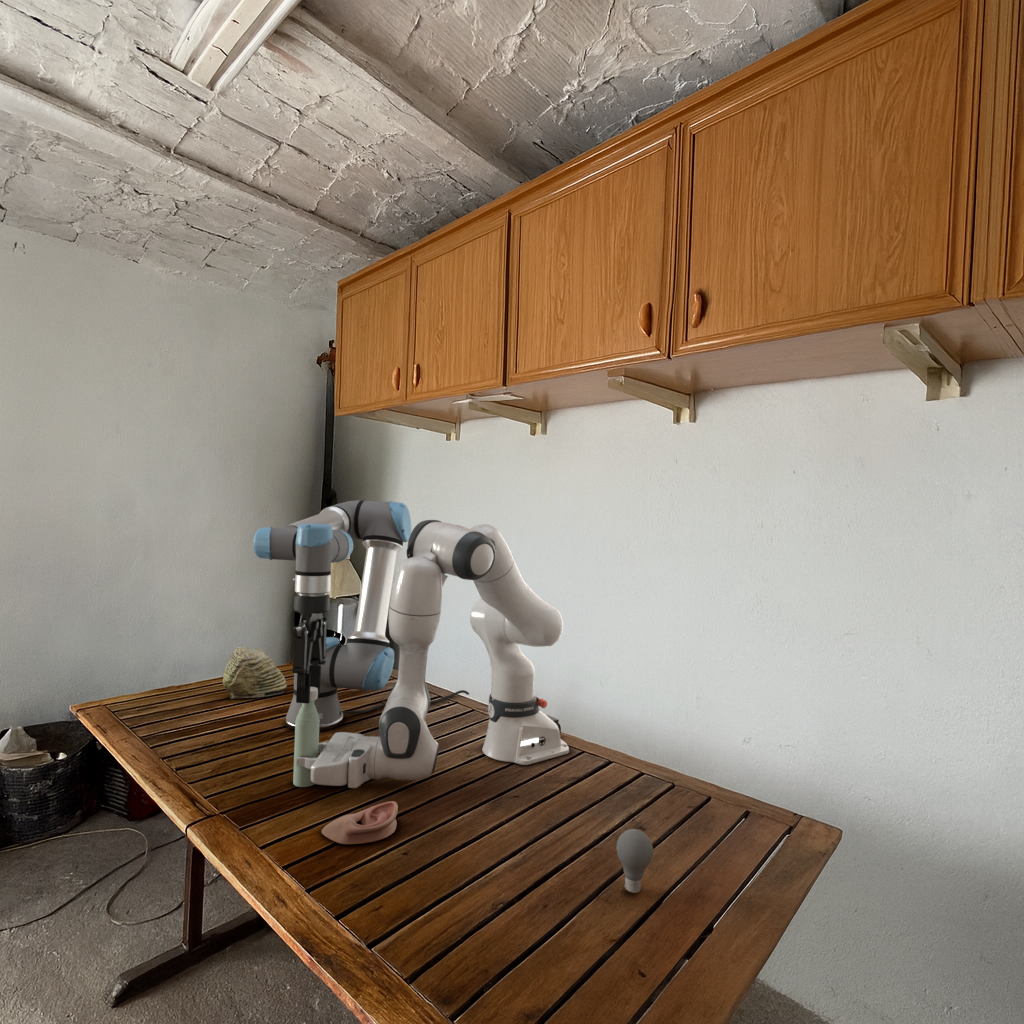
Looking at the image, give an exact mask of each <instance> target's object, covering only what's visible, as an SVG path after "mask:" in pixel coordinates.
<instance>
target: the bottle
mask: <svg viewBox="0 0 1024 1024" xmlns="http://www.w3.org/2000/svg"><path fill="white" fill-rule="evenodd" d="M315 707H316V706H315V705H314V700H313V701H310V703H302V706H301V709H300V710H299V713H298V716H297V717H296V721H295V730H294V748H293V749H294V750H293V752H294V753H293V755H294V756H293V775H292V776H293V777H292V784H293V785H294V786H295V787H298V788H309V787H312V786H314V785H316V784H315V783H313V782H311V770H310V769H308V768H306V767H300V766H297V765H296V764H297V759H298V757H299V756H307V758H312V759H313V758H318V756H319V753H318V748H319V743H320V731H319V722H320V719H319V715H318V712H317V709H316V708H315Z"/></svg>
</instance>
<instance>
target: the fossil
mask: <svg viewBox="0 0 1024 1024" xmlns="http://www.w3.org/2000/svg"><path fill="white" fill-rule="evenodd" d="M222 676H223V677H222V685H223V687H224V688H225V690H226V691H228V693H229V698H230V699H250V698H264V697H271V696H275V695H281V694H284V693H285V691H286V689H287V687H288V686H287V680H286V678H285V676H284V674H283V673H282V672H281V669H279V668H278V667H277V665H276V663H275V662H274V660H273V659H272V658H271V657H270V656H269V655H268V654H267V653H266V652H265V650H264V649H263V648H260V647H258V648H251V647H247V646H246V647H245V646H238V647H237V648H236V649H235V650H233V651H232V653H231V656H230V657H229V659H228V660H227V663H226V666H225V668H224V671H223V675H222Z"/></svg>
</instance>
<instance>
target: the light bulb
mask: <svg viewBox="0 0 1024 1024" xmlns="http://www.w3.org/2000/svg"><path fill="white" fill-rule="evenodd" d="M615 849H616V854H617V857H618V859H619V861H620V863H621V865H622V867H623V873H624V874H623V875H624V876H625V878H624V888H625V890H627V891H628V892H630V893H634V894H635V893H639V892H640V891H641V889H642V887H641V886H642V879H643V877H644V875H645V871H646V868H647V867H648V866H649V864H650V863H651V861H652V859H653V855H654V847H653V843H652V841H651V838H649V836H648V835H647V834H646V833H645V832H643V831H642V830H641V829H636V828H629V829H627V830H625V831H623V832H622V833H621V834H620V835H619V837H618V839H617V841H616V847H615Z"/></svg>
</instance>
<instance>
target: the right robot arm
mask: <svg viewBox="0 0 1024 1024" xmlns="http://www.w3.org/2000/svg"><path fill="white" fill-rule="evenodd" d="M448 575H449V576H453V577H458V578H459V579H462V580H464V581H465V580H466V581H473V583H474V586H475V587H476V590H477V592H478V594H479V597H480V598H479V599H478V600H476V601H475V602H474V604H473V605H472V608H471V610H470V614H469V623H470V626H471V628H472V631H473V632H474V633H476V635H477V636H478V637H479V638H480V640H481V641H482V644H484V647H485V649H486V652H487V654H488V658H489V662H490V675H491V676H490V679H491V681H490V685H491V686H490V694H489V696H488V708H487V711H488V714H487V715H488V722H487V730H486V734H485V738H484V741H483V745H482V748H481V751H482V753H483V754H484V755H485V756H487V757H489V758H491V759H493V760H497V761H501V762H509V763H515V764H518V765H522V766H528V765H532V764H536V763H539V762H540V763H541V762H544V761H547V760H550V759H553V758H557V757H561V756H564V755H568V754H569V753H570V748H569V745H568V744H567V743H566V742H565V741H564V740H563V739H562V738H561V736H562V727H561V724H560V723H559V718H556V717H553V716H551V715H549V714H546V713H544V712H543V711H541V709H540V708H542V709H546V708H547V707H548V701H547V700H545V699H544V698H539V697H538V696H537V695H535V681H536V680H535V679H536V669H535V666H534V664H533V661H531V660H530V659H529V658H528V657H527V656H525V654H524V653H523V652H522V650H521V647H520V645H522V646H526V647H527V646H529V647H534V648H537V647H538V648H539V647H540V648H543V647H552V646H554V645H555V644H556V643H558V641H559V640H560V638H561V637H562V634H563V631H564V620H563V616H562V614H561V612H560V610H559V609H558V608H556V607H555V606H552V605H551V604H549V603H547V602H546V601H545V600H544V599H542V598H541V596H539V595H538V594H537V593H536V592H534V590H533V589H532V588H531V587H530V586H529V585H528V584H527V582H526V581H525V580H524V578H523V576H522V574H521V572H520V569H519V567H518V565H517V562H516V560H515V559H514V556H513V553H512V551H511V549H510V547H509V545H508V544H507V542H506V540H505V538H504V537H503V535H502V533H500V531H499V530H498V529H497V528H496V527H495V526H493V525H490V524H488V523H487V524H485V523H482V524H477V525H474V526H472V527H471V528H468V527H466V526H462V525H460V524H457V523H456V524H454V523H450V522H445V521H444V522H443V521H441V520H438V519H426V520H422V521H419V522H418V523H417V524H416V525H415V526H414V528H413V529H412V530H411V535H410V537H409V541H408V542H407V548H406V559H404V560H403V561H402V562H401V563H400V564H399V565H398V568H397V570H396V573H395V577H394V580H393V583H392V588H391V595H390V602H389V609H388V632H389V636H390V638H391V639H392V641H393V642H394V643H395V644H396V645H398V646H399V663H398V672H397V679H396V681H395V683H394V685H393V686H392V687H391V690H390V692H389V693H388V697H387V700H386V703H385V704H386V705H385V707H383V710H382V712H381V715H380V717H379V721H378V731H379V732H378V733H379V736H370V735H364V734H363V733H362V734H361V733H356V732H348V731H347V732H346V731H339V732H338V731H337V732H335V733H334V734H333V735H332V736H331V738H330V739H329V741H323V742H319V748H318V758H313V759H312V758H307V756H299V757H298V759H297V764H296V765H297V766H300V767H306V768H308V769H310V770H311V782H313V783H315V784H314V785H320V786H331V787H342V786H345V785H347V788H349V789H357V788H359V787H360V786H361V785H362V784H364V783H366V782H368V781H370V780H380V779H385V778H386V779H391V780H395V781H418V780H426V779H428V778H430V777H431V776H432V775H433V774H434V773H435V769H436V766H437V761H438V757H439V753H440V752H439V751H440V745H439V742H437V741H436V739H435V738H434V736H433V735H432V733H431V731H430V729H429V727H428V725H427V721H426V718H427V715H428V713H429V711H430V708H431V704H430V701H431V695H430V692H429V689H428V686H427V682H426V674H427V673H426V672H427V663H428V653H429V649H430V647H431V645H432V643H433V642H434V641H435V639H436V635H437V632H438V629H439V625H440V620H441V615H442V605H443V588H444V585H445V582H446V580H447V578H448V577H449V576H448ZM560 733H561V734H560Z"/></svg>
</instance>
